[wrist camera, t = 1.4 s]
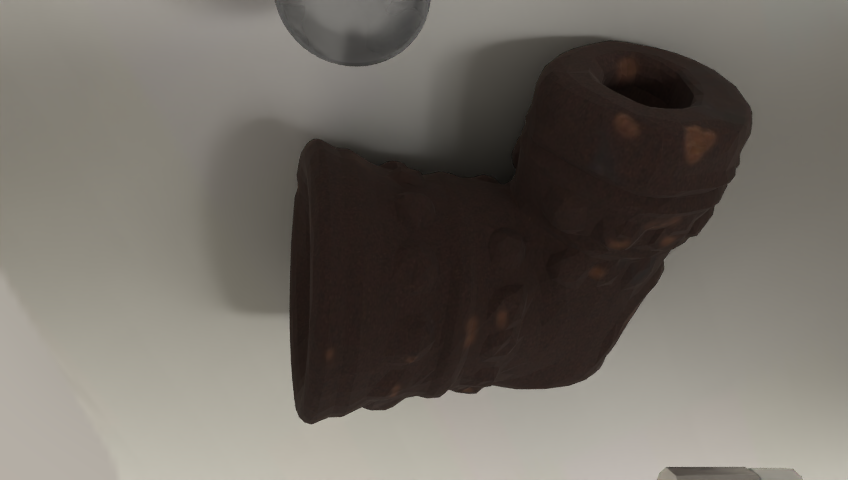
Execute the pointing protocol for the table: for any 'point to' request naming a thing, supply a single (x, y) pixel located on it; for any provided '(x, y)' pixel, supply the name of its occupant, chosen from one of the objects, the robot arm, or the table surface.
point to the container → (354, 27)
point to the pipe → (507, 238)
